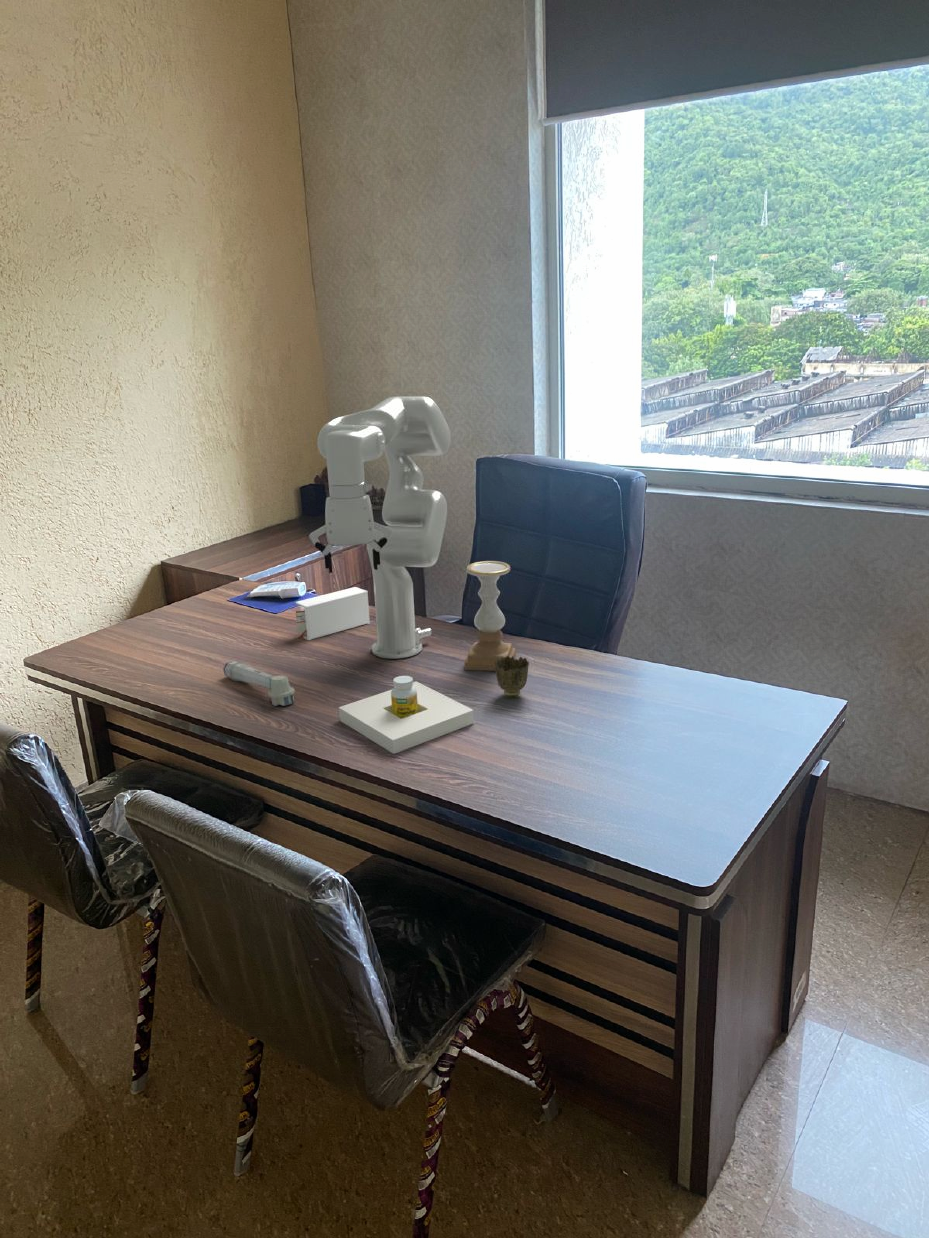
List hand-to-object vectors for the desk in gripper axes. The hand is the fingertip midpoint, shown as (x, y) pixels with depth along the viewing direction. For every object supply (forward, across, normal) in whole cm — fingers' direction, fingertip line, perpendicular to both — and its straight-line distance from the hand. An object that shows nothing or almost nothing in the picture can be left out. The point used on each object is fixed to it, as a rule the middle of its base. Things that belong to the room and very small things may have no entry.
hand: (353, 569), depth 196 cm
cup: (+28, -32, +10) cm, 44 cm away
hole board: (+28, -8, +18) cm, 35 cm away
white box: (+29, +6, -42) cm, 51 cm away
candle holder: (+28, -31, -10) cm, 43 cm away
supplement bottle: (+28, -8, +18) cm, 35 cm away
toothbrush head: (+29, +23, -5) cm, 37 cm away
